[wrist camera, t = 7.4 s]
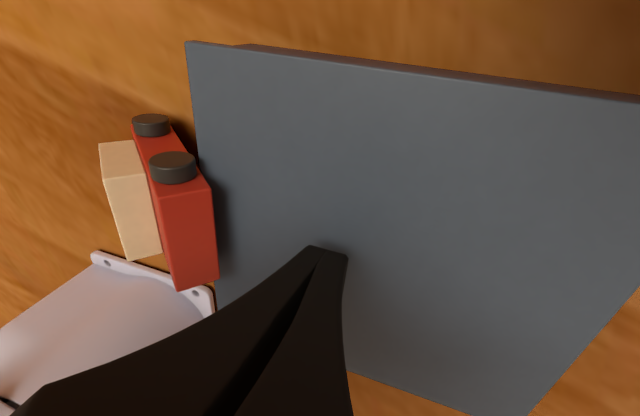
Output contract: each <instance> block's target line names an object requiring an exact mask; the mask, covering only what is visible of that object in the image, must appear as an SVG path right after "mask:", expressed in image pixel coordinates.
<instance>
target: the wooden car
mask: <svg viewBox="0 0 640 416" xmlns="http://www.w3.org/2000/svg"><path fill="white" fill-rule="evenodd" d="M130 127H131V131H132V135H133V140H127V141H117V142H106V143H99V144H98V147H99V156H100V164H101V172H102V181H103V184H104V187H105V190H106V194H107V197H108V200H109V204H110V207H111V210H112V213H113V217H114V220H115V223H116V226H117V230H118V233H119V236H120V240H121V243H122V246H123V249H124V253H125V256H126V259H127V261H128V262H130V261H134V260H138V259H142V258H145V257H149V256H153V255H157V254H161V253H163V252H164V255H165V258H166V261H167V264H168V267H169V271H170V274H171V277H172V280H173V283H174V287H175V290H176V291H177V292H181V291H184V290H187V289H190V288H193V287H196V286H200V285H203V284H206V283H209V282H212V281H215V280H218V279H220V268H219V258H218V248H217V238H216V228H215V218H214V208H213V198H212V189H211V188H210V186H209V184H208V183H207V181H206V180H205V178H204V177H203V175H202V174H201V172H200V170H199V169H198V167H197V166H196V160H195V157H194V156H193V155H192V154H190V153H188V152H187V150H186V149H185V147H184V146H183V144H182V142H181V141H180V139H179V138H178V136H177V135H176V133H175V132H174V130H173V128H172V127H171V125H170V122H169V118H168V117H167V116H165V115H161V114H142V115H138V116H135V117H133V118H132V125H131V126H130Z"/></svg>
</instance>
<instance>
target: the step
mask: <svg viewBox="0 0 640 416" xmlns="http://www.w3.org/2000/svg"><path fill="white" fill-rule="evenodd" d="M184 44H185V52H186V60H187V68H188V76H189V84H190V92H191V100H192V108H193V116H194V124H195V132H196V140H197V148H198V156H199V164H200V172H201V174H202V175H203V177H204V178H205V180H206V181H207V183H208V184H209V186H210V188H211V189H212V198H213V208H214V218H215V228H216V238H217V248H218V258H219V268H220V279H218V280H215V281H214V284H215V292H216V300H217V308H218V310H220V309H222V308H223V307H225V306H226V305H228V304H230V303H231V302H233V301H234V300H236V299H238V298H239V297H241V296H242V295H243V294H245V293H246V292H248V291H249V290H251V289H252V288H254V287H255V286H257V285H258V284H260V283H261V282H262V281H264V280H265V279H266V278H268V277H269V276H270V275H272V274H273V273H274V272H276V271H277V270H278V269H279V268H281V267H282V266H283V265H284V264H286V263H287V262H288V261H289V260H291V259H292V258H293V257H294V256H295V255H297V254H298V253H299V252H300V251H301V250H302V249H304V248H305V247H306V246H308V245H313V246H316V247H320V248H324V249H327V250H331V251H335V252H338V253H342V254H346V255H347V257H348V258H349V260H348V266H347V272H346V278H345V284H344V290H343V296H342V332H343V346H344V356H345V365H346V370H347V371H350V372H353V373H356V374H359V375H361V376H364V377H367V378H370V379H372V380H375V381H378V382H381V383H383V384H386V385H389V386H392V387H395V388H397V389H400V390H403V391H406V392H408V393H411V394H414V395H417V396H419V397H422V398H425V399H428V400H431V401H433V402H436V403H439V404H442V405H444V406H447V407H450V408H453V409H456V410H458V411H461V412H464V413H467V414H469V415H472V416H527V415H528V414H529V413H530V412H531V410H532V409H533V408H534V407H535V406H536V405H537V404H538V402H539V401H540V400H541V399H542V398H543V397H544V396H545V394H546V393H547V392H548V391H549V390H550V389H551V387H552V386H553V385H554V384H555V383H556V382H557V381H558V379H559V378H560V377H561V376H562V375H563V374H564V372H565V371H566V370H567V369H568V368H569V367H570V366H571V364H572V363H573V362H574V361H575V360H576V359H577V357H578V356H579V355H580V354H581V353H582V352H583V351H584V349H585V348H586V347H587V346H588V345H589V344H590V343H591V341H592V340H593V339H594V338H595V337H596V336H597V334H598V333H599V332H600V331H601V330H602V329H603V328H604V326H605V325H606V324H607V323H608V322H609V321H610V319H611V318H612V317H613V316H614V315H615V314H616V313H617V311H618V310H619V309H620V308H621V307H622V306H623V304H624V303H625V302H626V301H627V300H628V299H629V298H630V296H631V295H632V294H633V293H634V292H635V291H636V290H637V288H638V287H639V286H640V95H634V94H626V93H618V92H611V91H603V90H596V89H588V88H581V87H573V86H566V85H558V84H551V83H543V82H536V81H528V80H521V79H513V78H506V77H498V76H490V75H483V74H475V73H468V72H460V71H453V70H445V69H438V68H430V67H423V66H415V65H408V64H400V63H393V62H385V61H377V60H370V59H362V58H355V57H347V56H340V55H332V54H325V53H317V52H310V51H302V50H295V49H287V48H280V47H272V46H264V45H257V44H244V45H234V46H231V45H224V44H217V43H209V42H202V41H185V43H184Z"/></svg>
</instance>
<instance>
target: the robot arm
mask: <svg viewBox="0 0 640 416" xmlns="http://www.w3.org/2000/svg"><path fill="white" fill-rule="evenodd" d="M90 257H91V260H92V262H93V264H92V265H91V266H89V267H88V268H86V269H85V270H83V271H82V272H80V273H79V274H78V275H76V276H75V277H73V278H72V279H70V280H69V281H67V282H66V283H65V284H63V285H62V286H60V287H59V288H57V289H56V290H54V291H53V292H52V293H50V294H49V295H47V296H46V297H44V298H43V299H41V300H40V301H39V302H37V303H36V304H34V305H33V306H31V307H30V308H28V309H27V310H26V311H24V312H23V313H21V314H20V315H18V316H17V317H16V318H14V319H13V320H11V321H10V322H8V323H7V324H6V325H4V326H3V327H2V328H1V329H0V416H354V415H353V410H352V405H351V399H350V393H349V387H348V380H347V373H346V365H345V356H344V346H343V332H342V296H343V290H344V284H345V278H346V272H347V266H348V260H349V258H348V257H347V255H346V254H342V253H338V252H335V251H331V250H327V249H324V248H320V247H316V246H313V245H308V246H306V247H305V248H304V249H302V250H301V251H300V252H299V253H298V254H297V255H295V256H294V257H293V258H292V259H291V260H289V261H288V262H287V263H286V264H284V265H283V266H282V267H281V268H279V269H278V270H277V271H276V272H274V273H273V274H272V275H270V276H269V277H268V278H266V279H265V280H264V281H262V282H261V283H260V284H258V285H257V286H255V287H254V288H252V289H251V290H249V291H248V292H246V293H245V294H243V295H242V296H241V297H239V298H238V299H236V300H234V301H233V302H231V303H230V304H228V305H226V306H225V307H223V308H222V309H220V310H218V311H216V312H215V307H214V300H213V293H212V291H211V290H210V289H209V288H208V287H206V286H203V285H200V286H196V287H193V288H190V289H187V290H184V291H181V292H177V291H176V290H175V287H174V283H173V280H172V277H171V275H170V274H167V273H164V272H161V271H158V270H155V269H152V268H149V267H146V266H143V265H140V264H137V263H134V262H131V261H130V262H128V261H127V260H125V259H122V258H119V257H116V256H113V255H110V254H107V253H104V252H101V251H97V250H96V251H94V252H92V253H91V255H90Z"/></svg>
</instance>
